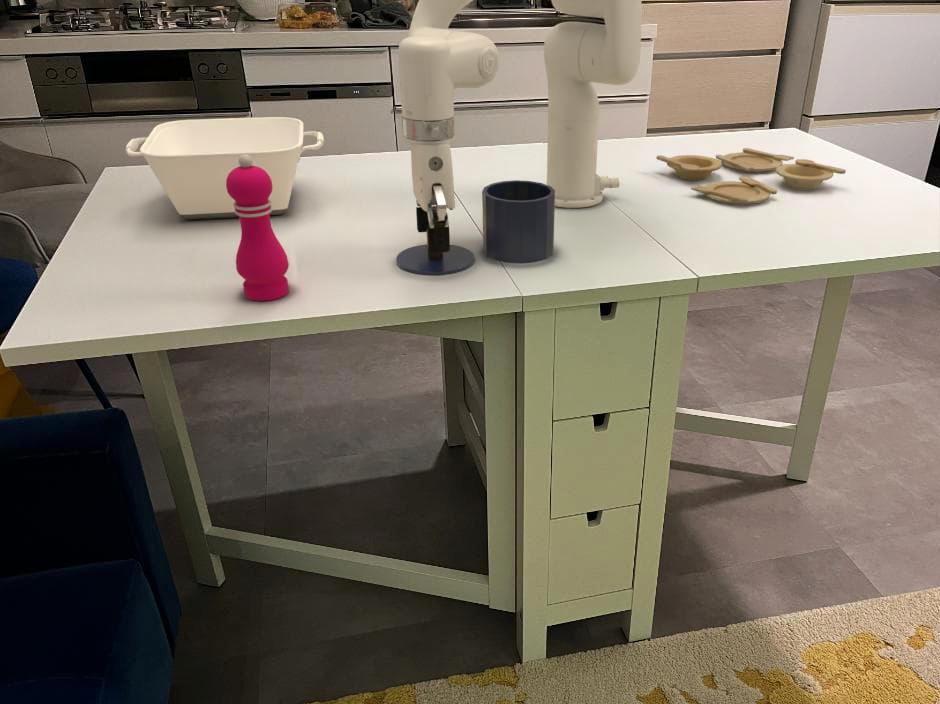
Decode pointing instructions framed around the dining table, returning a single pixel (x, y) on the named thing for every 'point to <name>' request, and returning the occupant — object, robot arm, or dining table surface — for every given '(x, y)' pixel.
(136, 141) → the tub
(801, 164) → the tableware set
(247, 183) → the pepper mill
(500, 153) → the dining table surface
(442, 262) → the tin lid
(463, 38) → the robot arm
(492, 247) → the tin
